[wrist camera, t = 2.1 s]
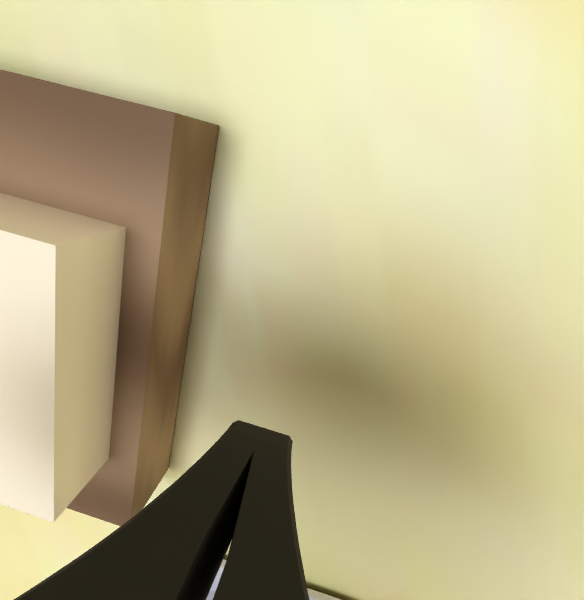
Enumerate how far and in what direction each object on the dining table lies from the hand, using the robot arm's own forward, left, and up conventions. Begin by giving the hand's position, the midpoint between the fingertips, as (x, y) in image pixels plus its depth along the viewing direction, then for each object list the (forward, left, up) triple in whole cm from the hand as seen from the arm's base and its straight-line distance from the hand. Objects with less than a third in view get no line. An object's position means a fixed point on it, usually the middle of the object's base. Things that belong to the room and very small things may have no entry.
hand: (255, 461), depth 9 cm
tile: (0, +8, -1) cm, 8 cm away
